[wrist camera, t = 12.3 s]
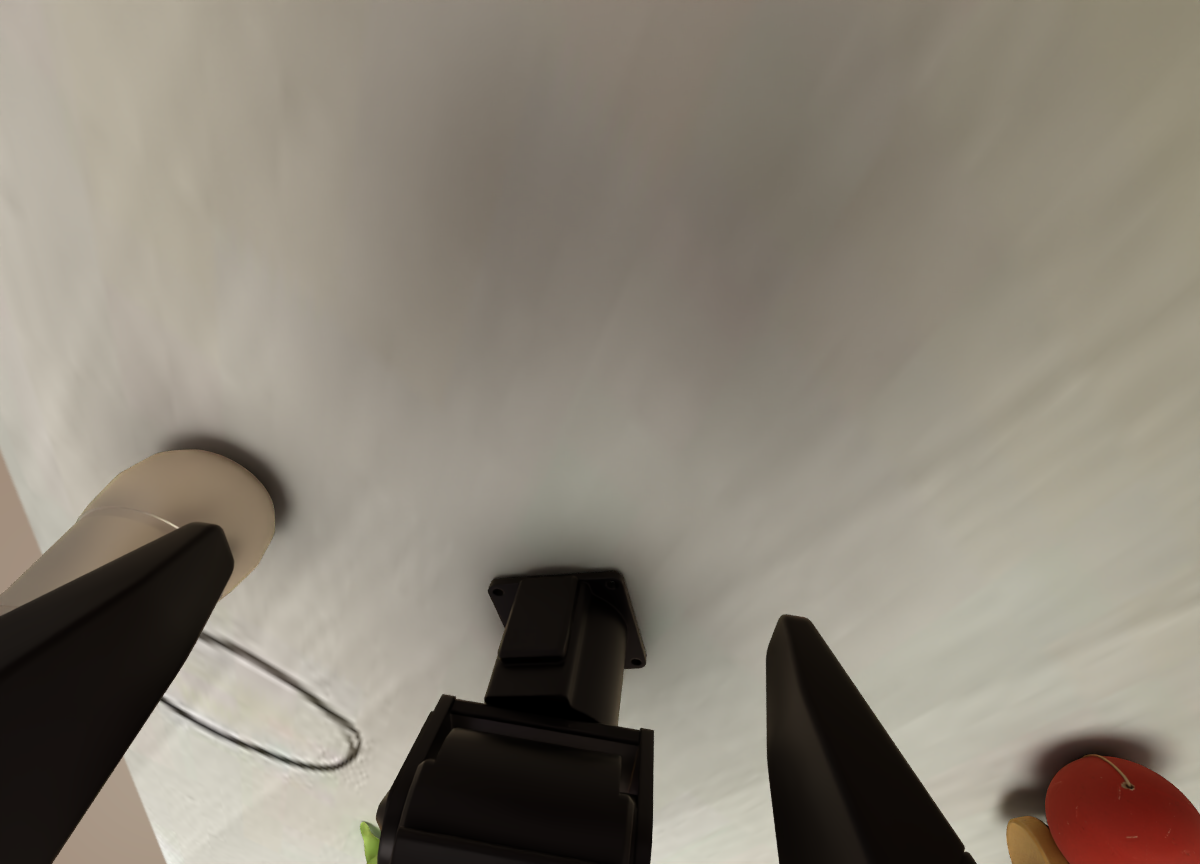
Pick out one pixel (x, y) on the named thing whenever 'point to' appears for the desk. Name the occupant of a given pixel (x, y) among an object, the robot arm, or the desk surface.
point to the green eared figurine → (369, 844)
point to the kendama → (1108, 818)
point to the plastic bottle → (157, 519)
